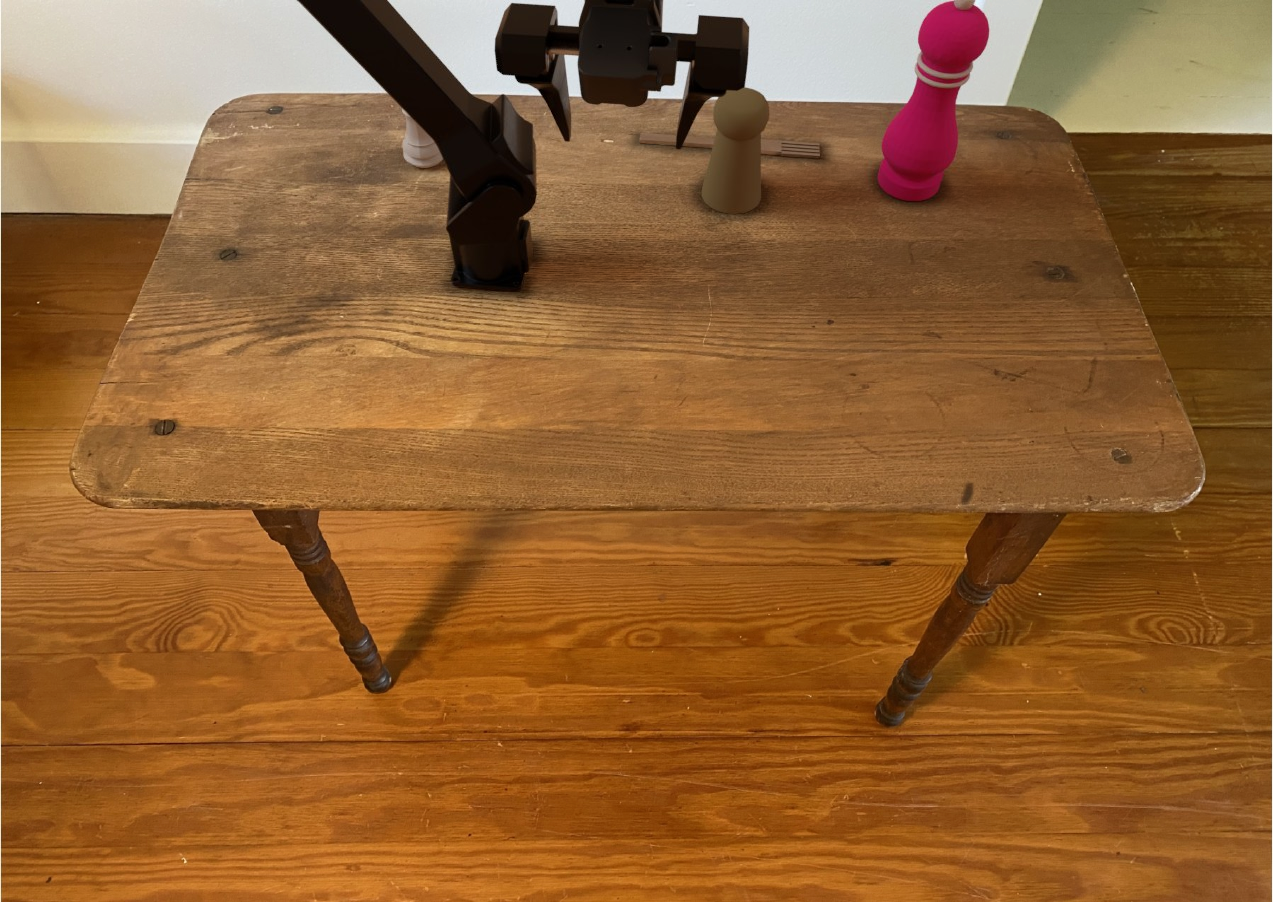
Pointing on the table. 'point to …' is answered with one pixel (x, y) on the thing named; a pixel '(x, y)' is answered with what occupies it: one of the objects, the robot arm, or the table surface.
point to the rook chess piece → (419, 146)
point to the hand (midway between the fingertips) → (623, 142)
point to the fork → (766, 145)
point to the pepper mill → (932, 102)
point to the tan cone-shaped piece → (736, 152)
